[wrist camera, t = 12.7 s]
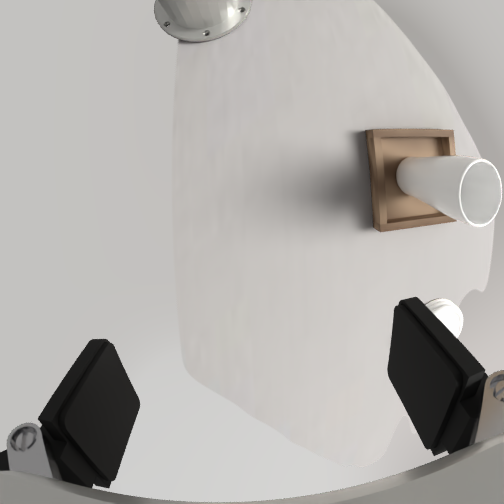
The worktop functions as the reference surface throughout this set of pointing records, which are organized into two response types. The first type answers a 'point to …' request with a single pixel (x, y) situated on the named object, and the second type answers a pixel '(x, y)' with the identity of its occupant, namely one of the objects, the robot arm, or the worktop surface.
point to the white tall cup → (453, 186)
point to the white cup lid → (447, 314)
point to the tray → (384, 175)
